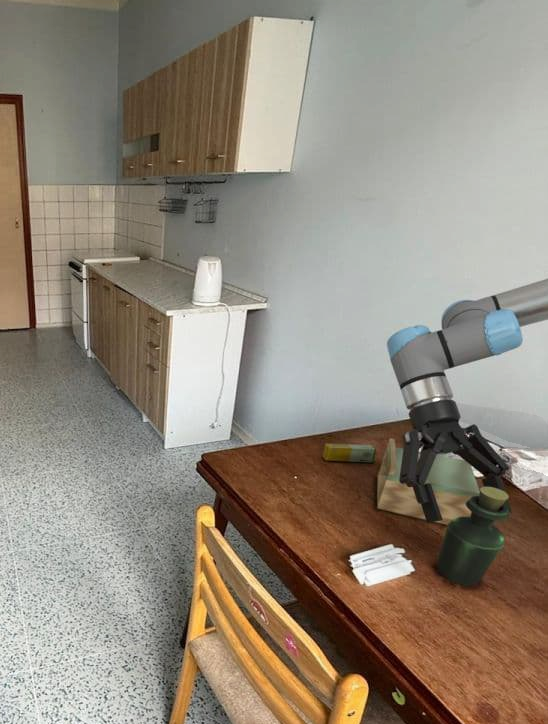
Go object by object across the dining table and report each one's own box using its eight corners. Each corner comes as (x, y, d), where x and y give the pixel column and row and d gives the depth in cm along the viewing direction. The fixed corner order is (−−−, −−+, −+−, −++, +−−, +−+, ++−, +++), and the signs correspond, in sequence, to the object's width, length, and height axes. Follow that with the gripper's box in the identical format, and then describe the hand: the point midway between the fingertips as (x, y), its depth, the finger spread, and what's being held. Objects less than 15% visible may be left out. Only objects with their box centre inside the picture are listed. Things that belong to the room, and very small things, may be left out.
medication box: (369, 458, 123) (372, 444, 122) (373, 463, 121) (377, 448, 119) (321, 456, 124) (325, 442, 123) (325, 460, 122) (328, 446, 120)
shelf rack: (455, 494, 109) (472, 453, 103) (464, 528, 98) (484, 484, 93) (377, 477, 115) (389, 438, 110) (377, 508, 104) (391, 466, 99)
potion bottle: (496, 588, 83) (539, 506, 75) (452, 592, 83) (491, 509, 74) (461, 557, 90) (497, 478, 82) (420, 560, 90) (452, 481, 81)
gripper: (471, 407, 94) (510, 512, 88) (357, 417, 91) (390, 527, 85) (506, 392, 87) (551, 506, 81) (384, 403, 84) (421, 522, 78)
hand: (469, 517), depth 83 cm, fingers open, 13 cm apart
